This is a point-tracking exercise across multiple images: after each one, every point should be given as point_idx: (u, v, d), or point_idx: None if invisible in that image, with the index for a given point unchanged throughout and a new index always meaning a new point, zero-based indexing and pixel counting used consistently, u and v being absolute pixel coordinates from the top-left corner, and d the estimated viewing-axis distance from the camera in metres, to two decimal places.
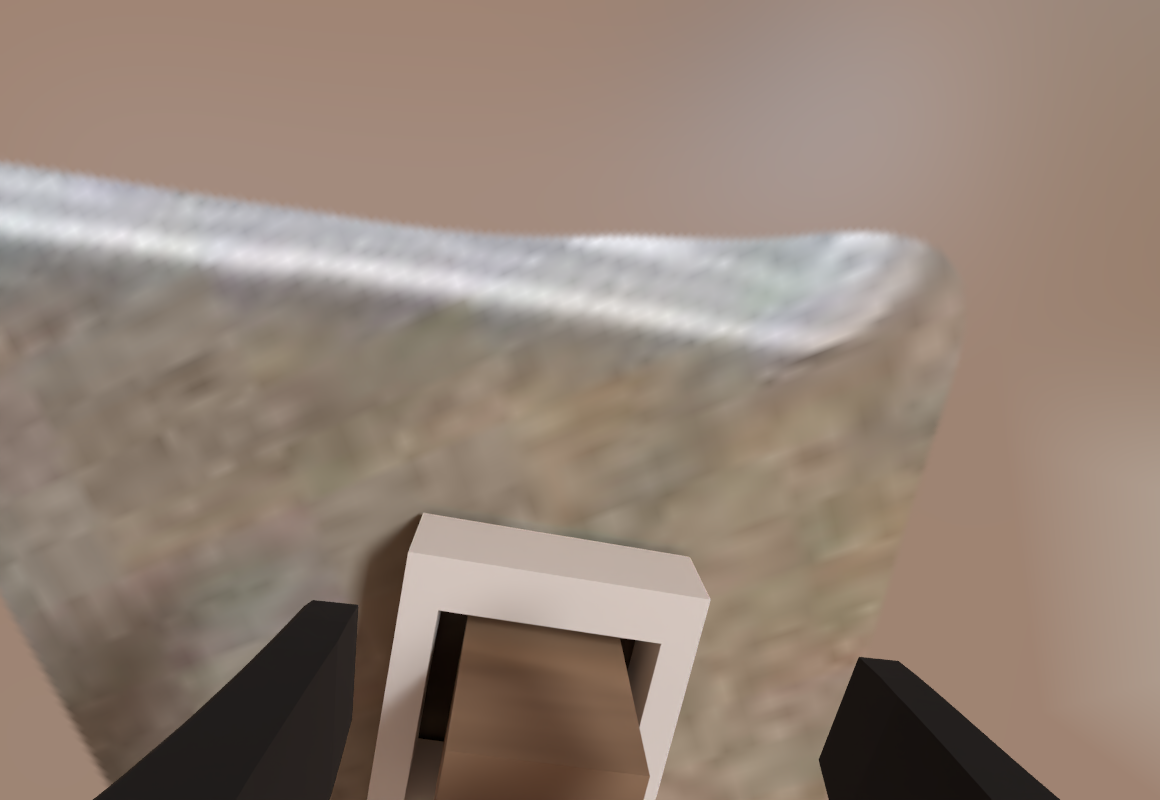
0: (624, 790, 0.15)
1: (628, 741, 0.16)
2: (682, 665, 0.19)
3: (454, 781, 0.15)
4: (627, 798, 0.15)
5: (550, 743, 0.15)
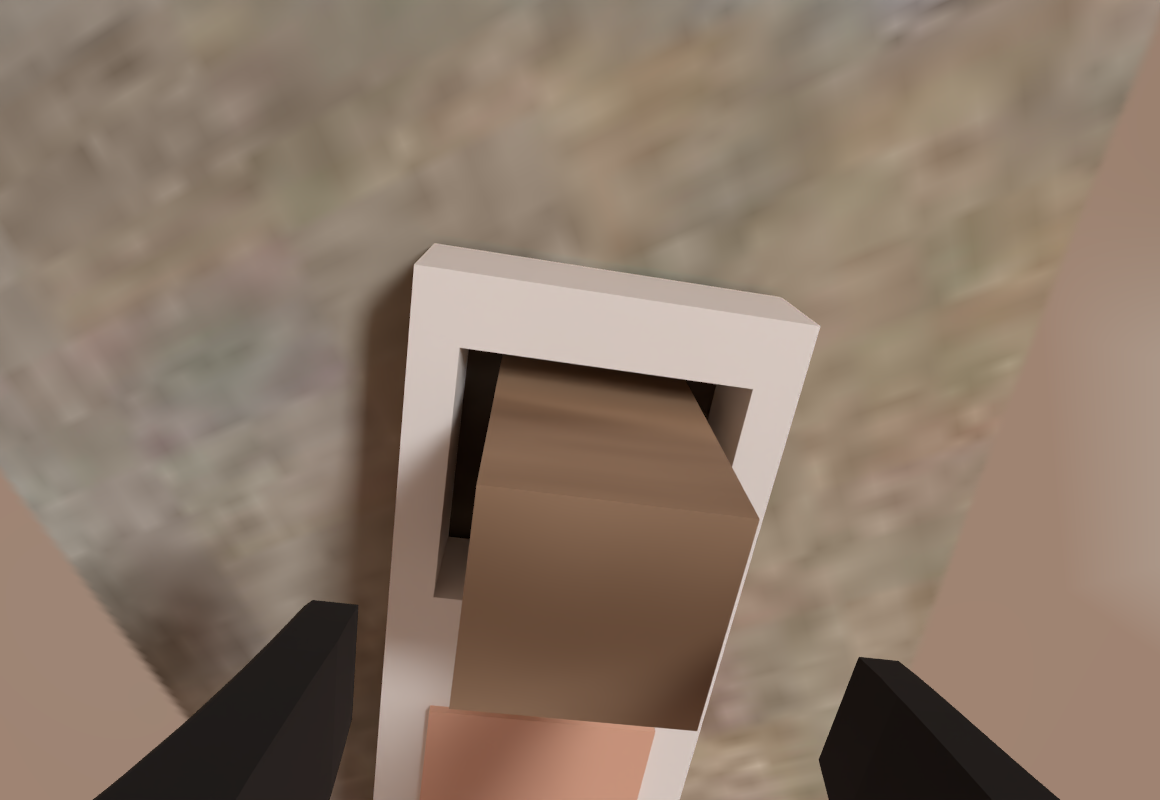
0: (724, 540, 0.11)
1: (723, 485, 0.12)
2: (780, 418, 0.14)
3: (491, 528, 0.11)
4: (727, 549, 0.11)
5: (619, 483, 0.11)
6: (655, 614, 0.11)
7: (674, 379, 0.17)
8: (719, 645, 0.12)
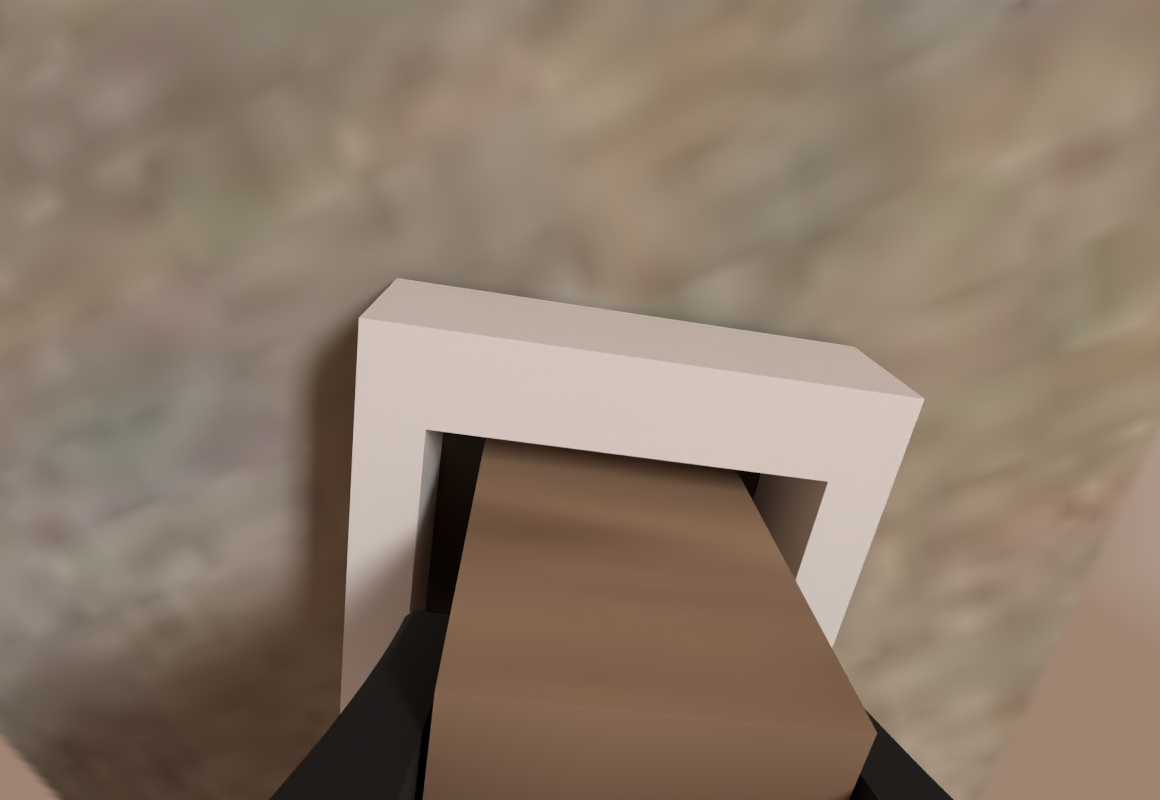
0: (820, 761, 0.07)
1: (810, 658, 0.08)
2: (862, 518, 0.11)
3: (459, 752, 0.07)
4: (825, 773, 0.07)
5: (658, 668, 0.07)
6: None
7: None
8: None
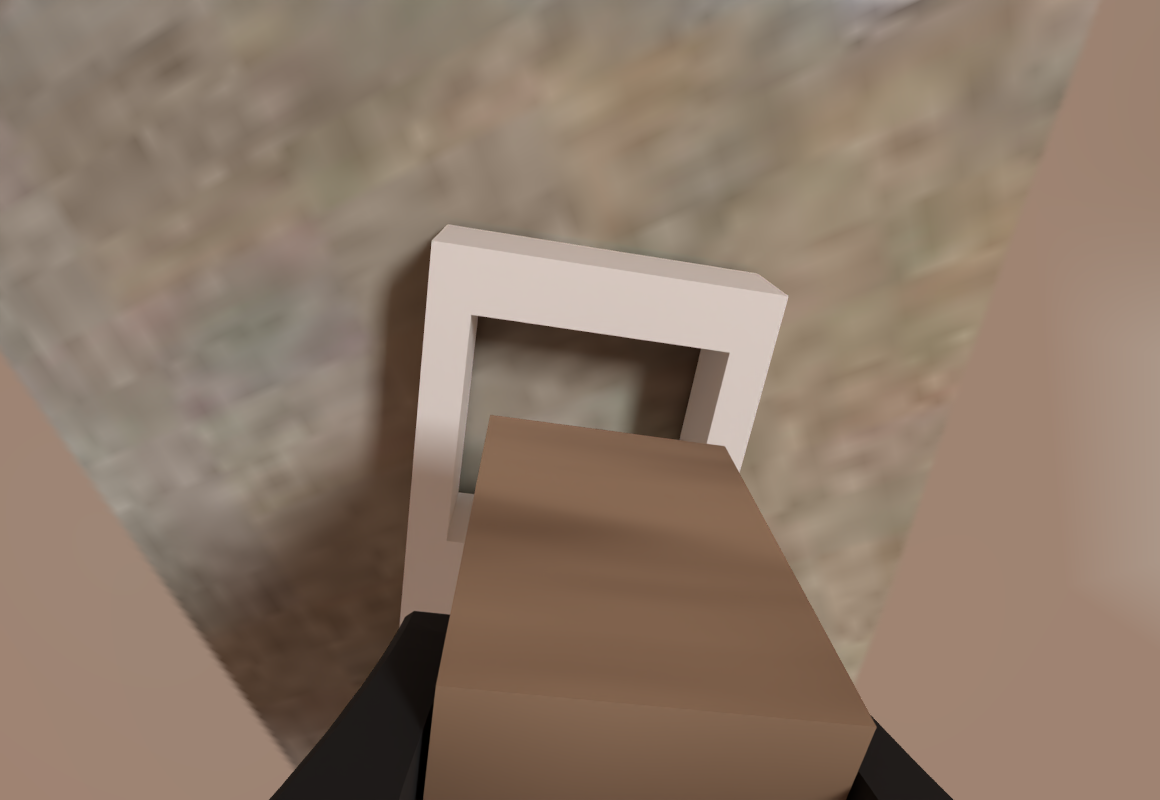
0: (819, 755, 0.07)
1: (810, 653, 0.08)
2: (754, 378, 0.16)
3: (460, 745, 0.07)
4: (824, 768, 0.07)
5: (658, 662, 0.07)
6: None
7: (713, 449, 0.13)
8: None
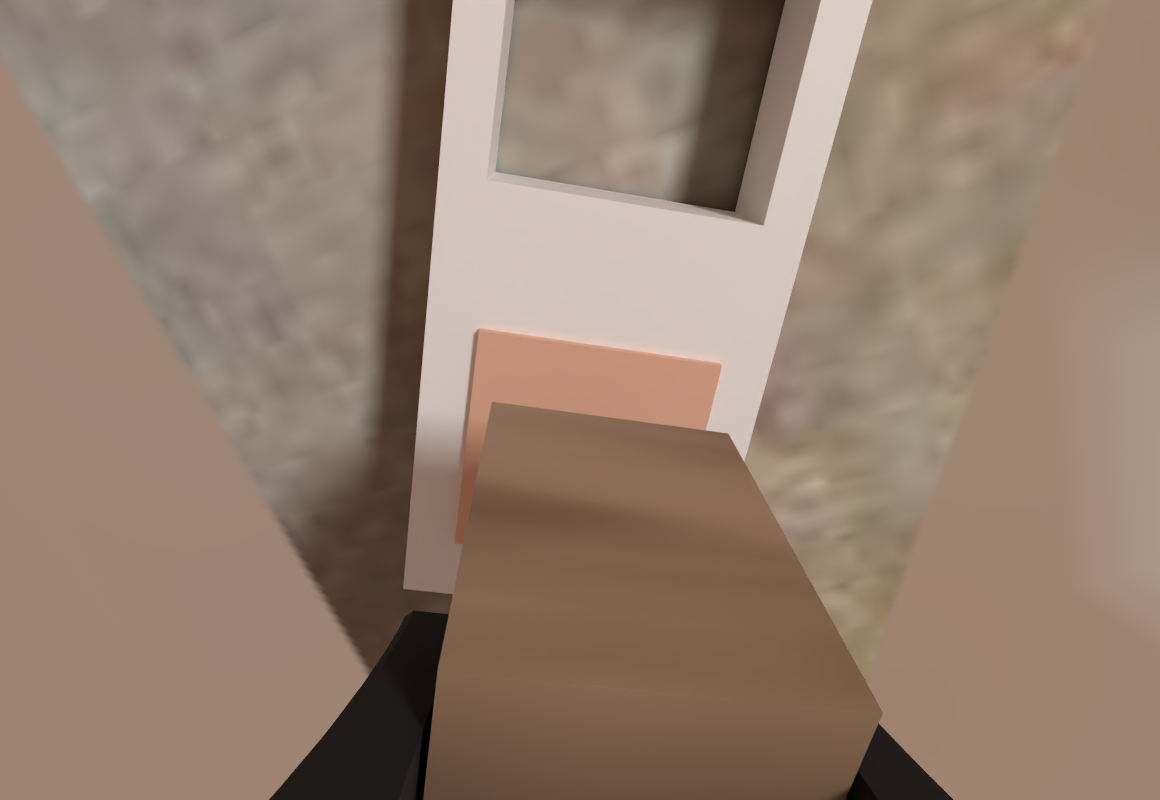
0: (826, 741, 0.07)
1: (815, 639, 0.08)
2: None
3: (463, 732, 0.07)
4: (830, 753, 0.07)
5: (662, 647, 0.07)
6: None
7: (716, 437, 0.13)
8: None
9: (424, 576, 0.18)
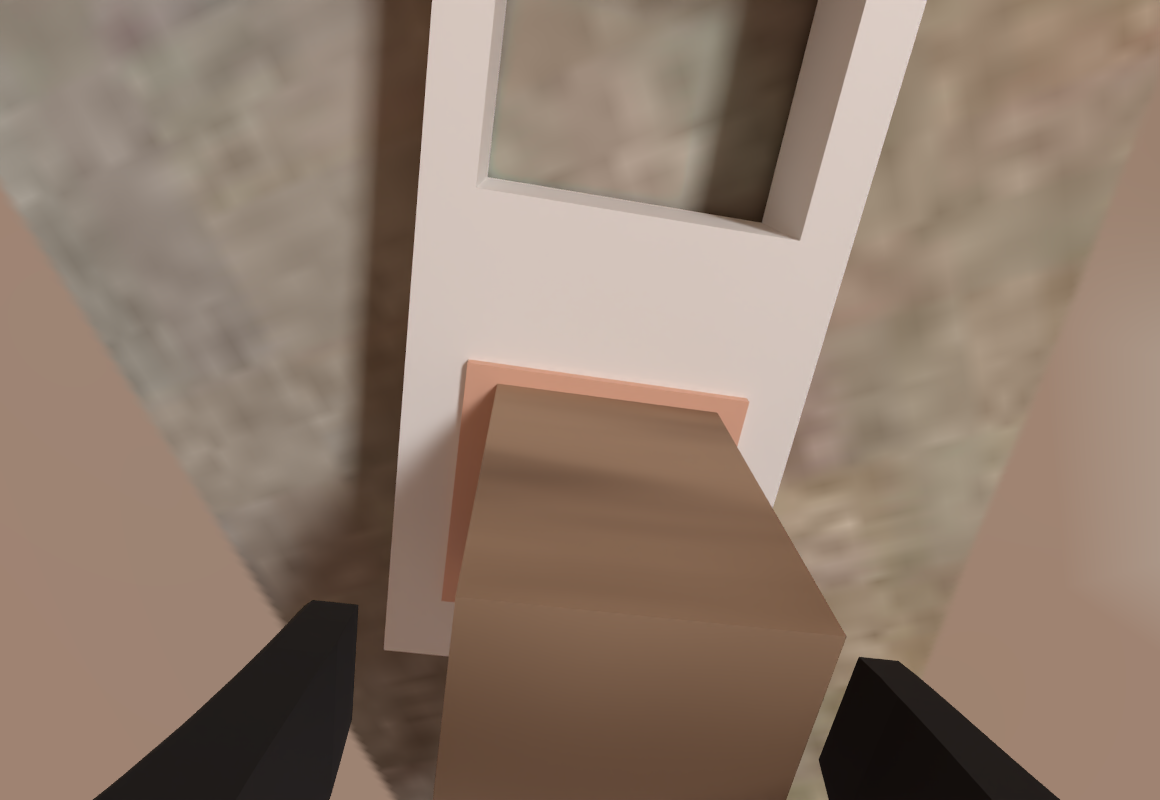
0: (796, 663, 0.08)
1: (789, 579, 0.09)
2: None
3: (476, 653, 0.08)
4: (801, 675, 0.08)
5: (652, 583, 0.08)
6: (700, 756, 0.08)
7: (706, 415, 0.14)
8: (783, 792, 0.09)
9: (407, 636, 0.16)
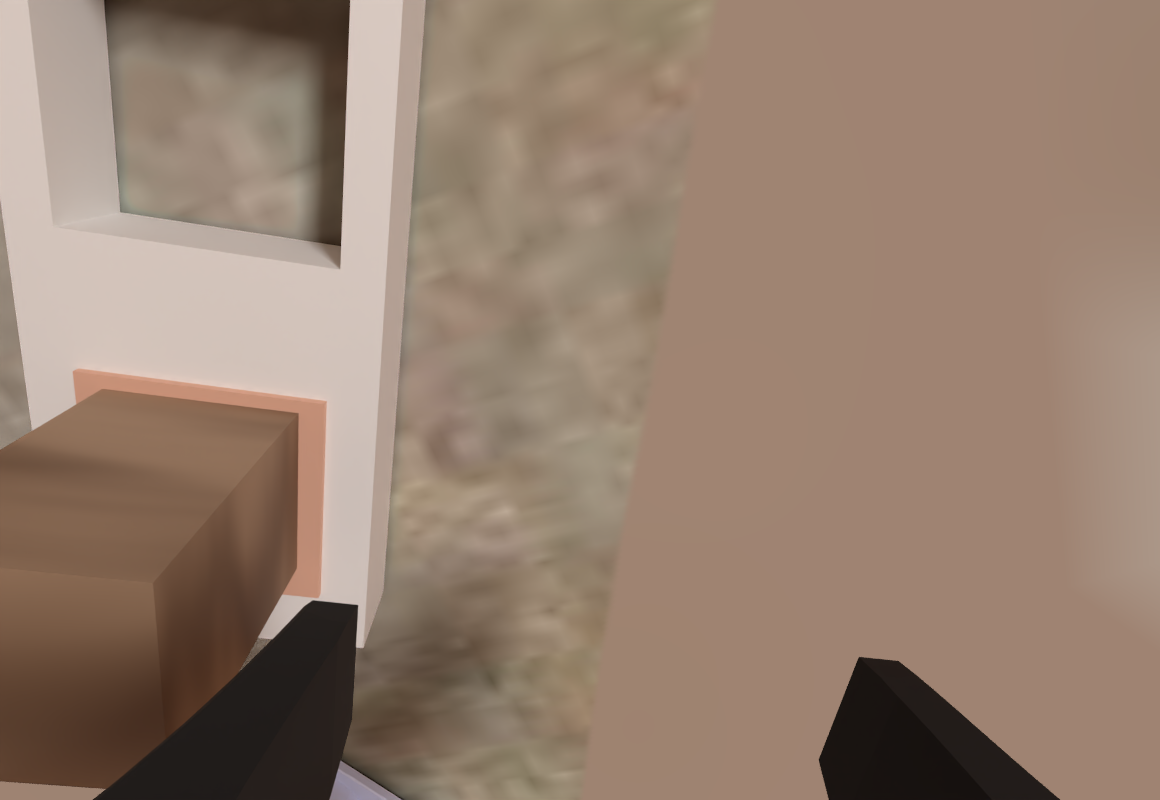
0: (122, 604, 0.10)
1: (163, 542, 0.11)
2: None
3: None
4: (130, 613, 0.11)
5: (27, 544, 0.11)
6: (78, 678, 0.11)
7: (283, 415, 0.16)
8: (159, 708, 0.11)
9: None
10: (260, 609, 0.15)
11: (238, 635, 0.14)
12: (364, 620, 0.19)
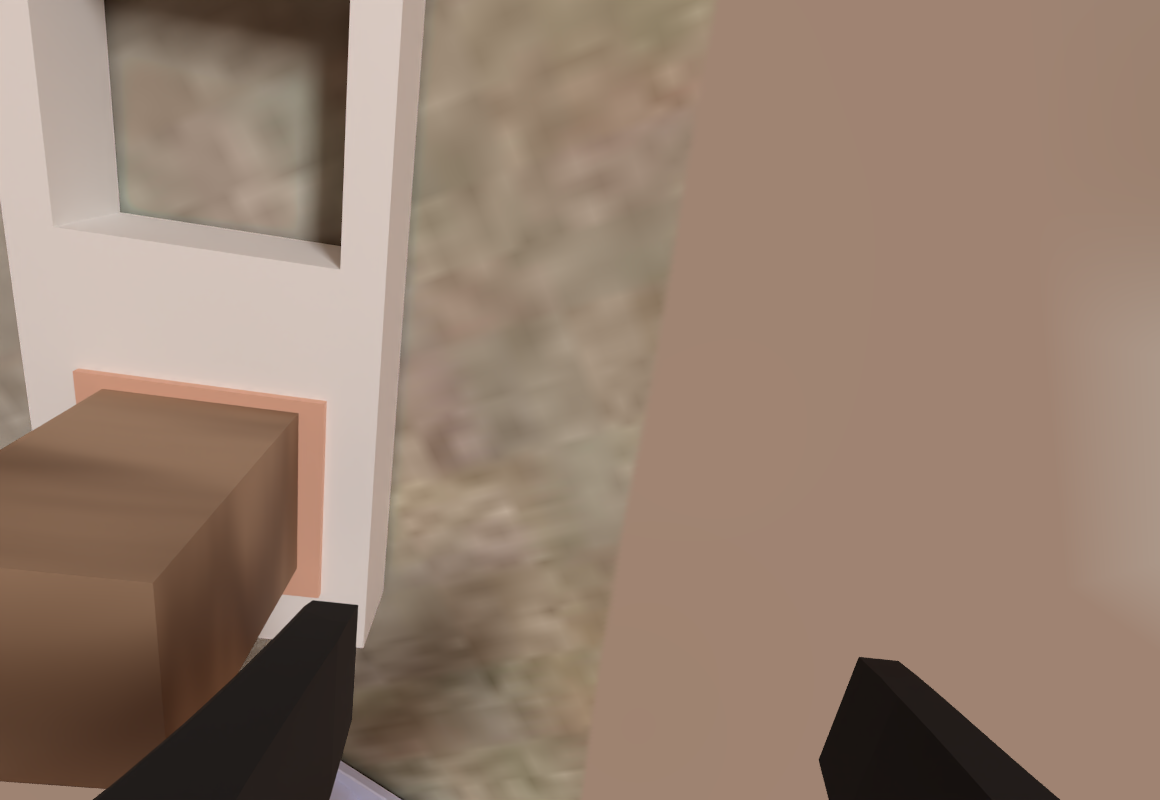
0: (122, 604, 0.10)
1: (163, 542, 0.11)
2: None
3: None
4: (130, 613, 0.11)
5: (27, 544, 0.11)
6: (78, 678, 0.11)
7: (283, 415, 0.16)
8: (159, 708, 0.11)
9: None
10: (260, 609, 0.15)
11: (238, 635, 0.14)
12: (364, 620, 0.19)
